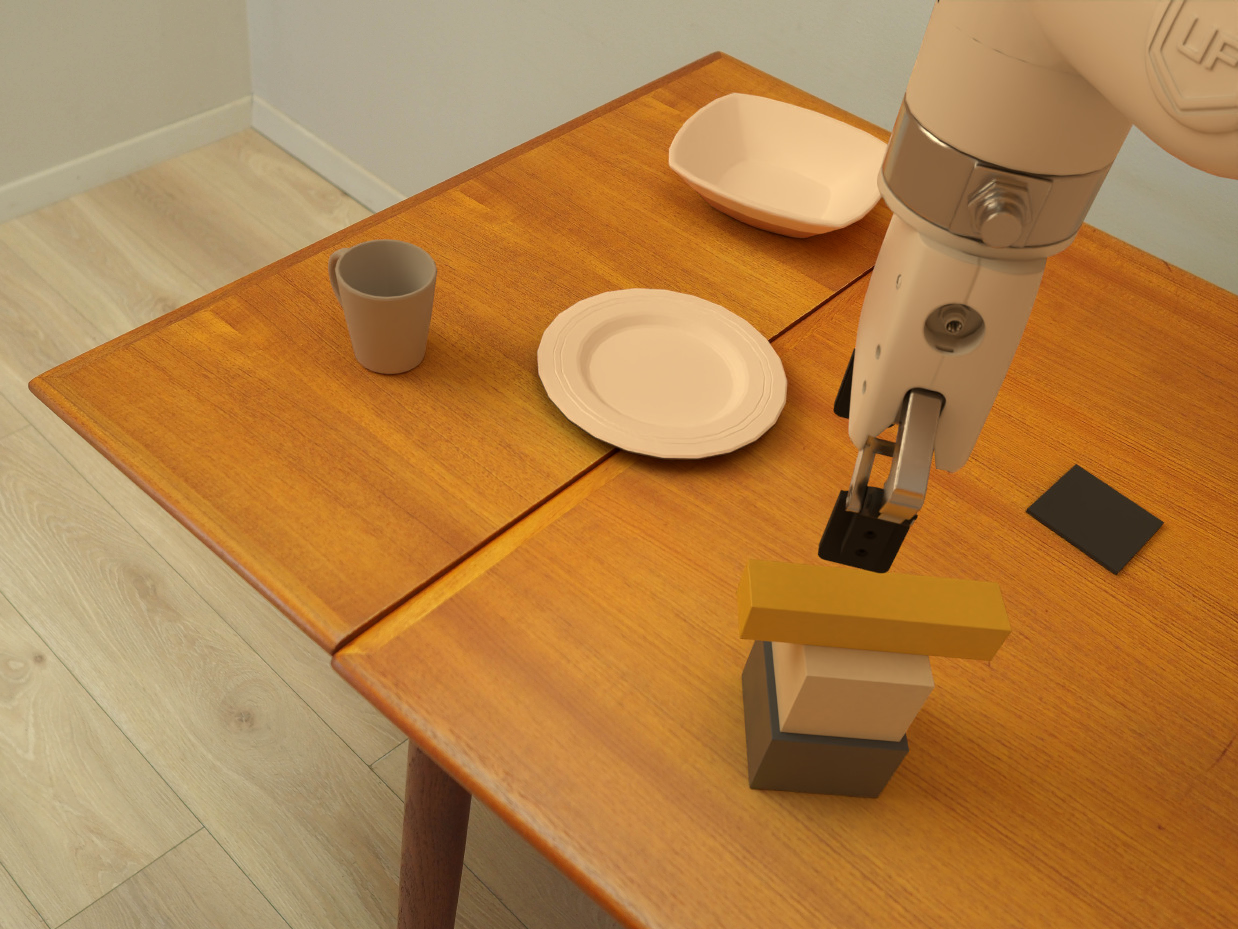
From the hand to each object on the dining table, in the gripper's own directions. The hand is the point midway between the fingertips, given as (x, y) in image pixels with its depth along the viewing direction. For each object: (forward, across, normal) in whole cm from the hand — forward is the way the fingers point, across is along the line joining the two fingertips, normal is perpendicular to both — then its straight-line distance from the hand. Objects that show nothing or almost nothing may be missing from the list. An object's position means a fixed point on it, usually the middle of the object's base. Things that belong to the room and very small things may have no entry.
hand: (857, 485), depth 50 cm
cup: (+22, +26, +35) cm, 49 cm away
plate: (+23, +30, +12) cm, 39 cm away
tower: (+23, 0, -3) cm, 23 cm away
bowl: (+22, +62, +6) cm, 66 cm away
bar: (+11, 0, -3) cm, 11 cm away
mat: (+23, +26, -24) cm, 42 cm away
